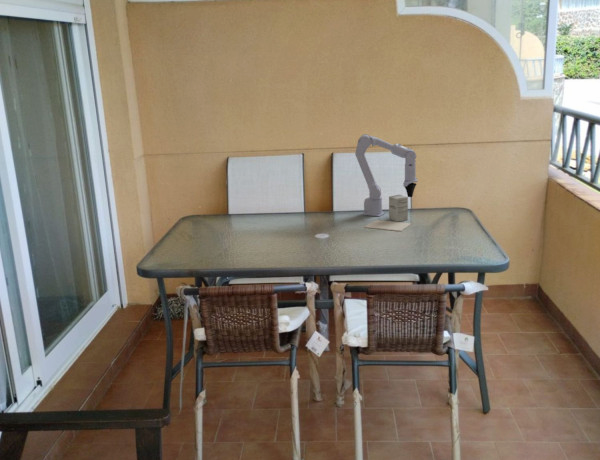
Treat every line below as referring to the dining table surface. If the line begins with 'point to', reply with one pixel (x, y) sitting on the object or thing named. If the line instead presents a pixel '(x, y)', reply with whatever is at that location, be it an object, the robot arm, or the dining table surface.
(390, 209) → the supplement box
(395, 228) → the mat
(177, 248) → the dining table surface
